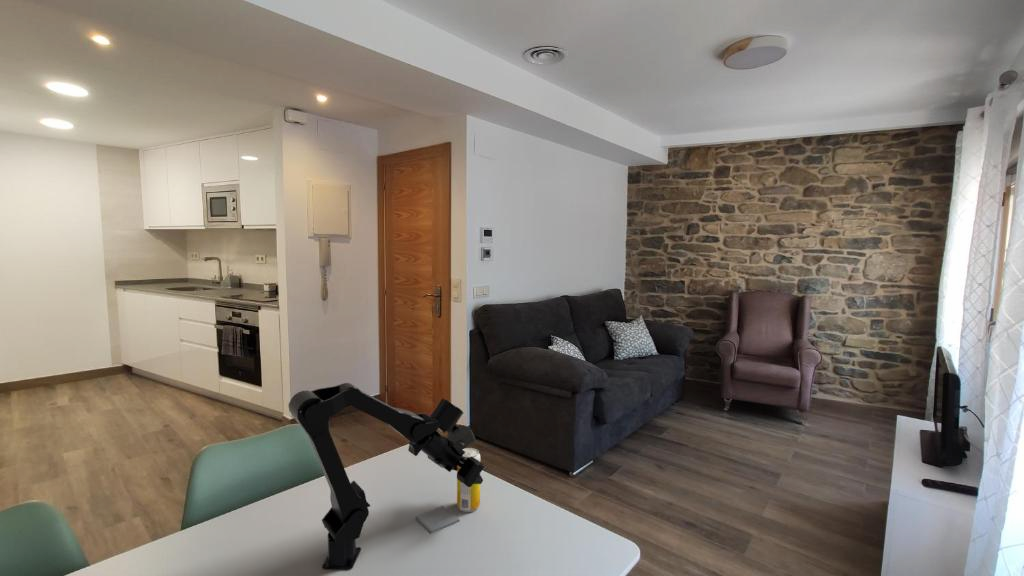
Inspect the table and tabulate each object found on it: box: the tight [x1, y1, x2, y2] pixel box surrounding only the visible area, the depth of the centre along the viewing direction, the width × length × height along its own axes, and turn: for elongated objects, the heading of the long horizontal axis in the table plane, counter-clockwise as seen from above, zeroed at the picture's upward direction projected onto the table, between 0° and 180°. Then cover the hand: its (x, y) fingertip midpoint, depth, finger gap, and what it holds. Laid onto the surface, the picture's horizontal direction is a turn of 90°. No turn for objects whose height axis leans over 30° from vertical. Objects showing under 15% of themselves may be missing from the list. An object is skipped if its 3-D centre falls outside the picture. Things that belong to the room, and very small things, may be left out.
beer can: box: [456, 447, 481, 513], centre depth 123 cm, size 6×6×15 cm
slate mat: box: [415, 505, 461, 534], centre depth 117 cm, size 8×8×1 cm
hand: (473, 476), depth 124 cm, fingers open, 8 cm apart
